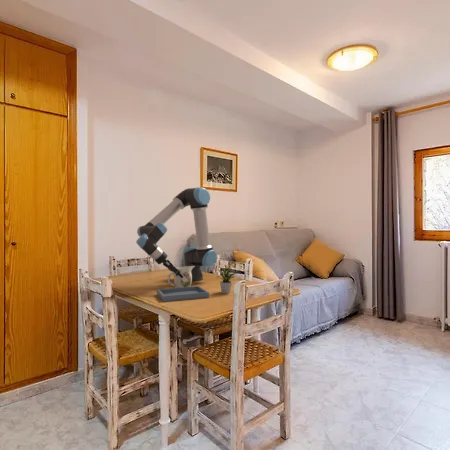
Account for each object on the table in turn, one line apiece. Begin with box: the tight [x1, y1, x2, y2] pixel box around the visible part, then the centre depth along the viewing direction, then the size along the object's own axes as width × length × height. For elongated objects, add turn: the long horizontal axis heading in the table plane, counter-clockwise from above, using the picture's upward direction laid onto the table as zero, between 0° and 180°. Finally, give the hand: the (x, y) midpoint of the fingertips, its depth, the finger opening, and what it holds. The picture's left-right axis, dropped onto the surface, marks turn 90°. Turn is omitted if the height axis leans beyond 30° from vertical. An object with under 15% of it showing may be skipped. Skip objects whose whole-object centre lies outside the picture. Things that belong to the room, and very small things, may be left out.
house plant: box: [214, 266, 238, 294], centre depth 191 cm, size 14×14×16 cm
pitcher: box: [167, 266, 195, 288], centre depth 200 cm, size 11×18×14 cm, turn 122°
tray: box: [156, 285, 210, 303], centre depth 182 cm, size 25×18×3 cm
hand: (183, 279), depth 200 cm, fingers open, 13 cm apart
